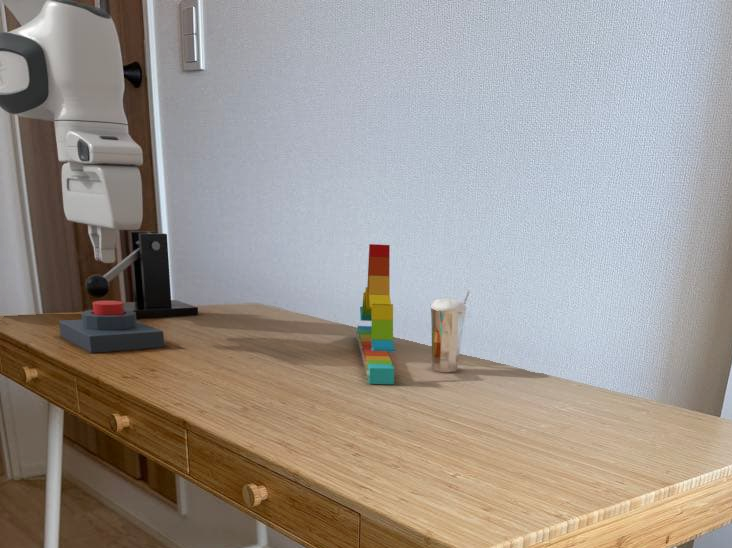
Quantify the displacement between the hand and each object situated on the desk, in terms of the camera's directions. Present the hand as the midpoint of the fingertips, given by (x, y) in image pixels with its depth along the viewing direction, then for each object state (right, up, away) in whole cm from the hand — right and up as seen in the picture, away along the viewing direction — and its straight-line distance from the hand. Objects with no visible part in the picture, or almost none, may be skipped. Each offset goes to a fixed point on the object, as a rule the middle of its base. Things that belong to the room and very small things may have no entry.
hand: (105, 262), depth 112 cm
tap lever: (-5, +6, +24) cm, 25 cm away
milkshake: (+46, -15, -2) cm, 48 cm away
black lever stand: (-2, +1, +29) cm, 29 cm away
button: (-1, -6, +3) cm, 7 cm away
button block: (-1, -10, +4) cm, 11 cm away
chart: (+36, -13, +2) cm, 38 cm away
